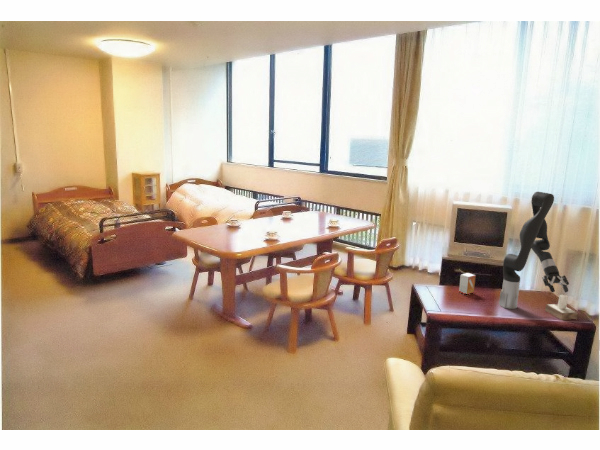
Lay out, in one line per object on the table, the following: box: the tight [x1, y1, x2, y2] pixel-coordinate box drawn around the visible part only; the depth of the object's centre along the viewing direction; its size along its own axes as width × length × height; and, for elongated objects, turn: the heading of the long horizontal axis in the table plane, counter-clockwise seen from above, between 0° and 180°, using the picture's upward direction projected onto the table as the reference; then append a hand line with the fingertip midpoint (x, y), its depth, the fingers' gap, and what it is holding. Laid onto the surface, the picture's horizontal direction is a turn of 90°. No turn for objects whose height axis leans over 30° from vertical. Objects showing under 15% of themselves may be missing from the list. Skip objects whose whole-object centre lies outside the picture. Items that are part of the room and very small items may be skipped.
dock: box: [544, 303, 579, 321], centre depth 256 cm, size 10×14×4 cm
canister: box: [557, 293, 569, 310], centre depth 255 cm, size 4×4×8 cm
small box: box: [458, 272, 477, 294], centre depth 290 cm, size 8×6×13 cm
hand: (560, 291), depth 257 cm, fingers open, 8 cm apart
